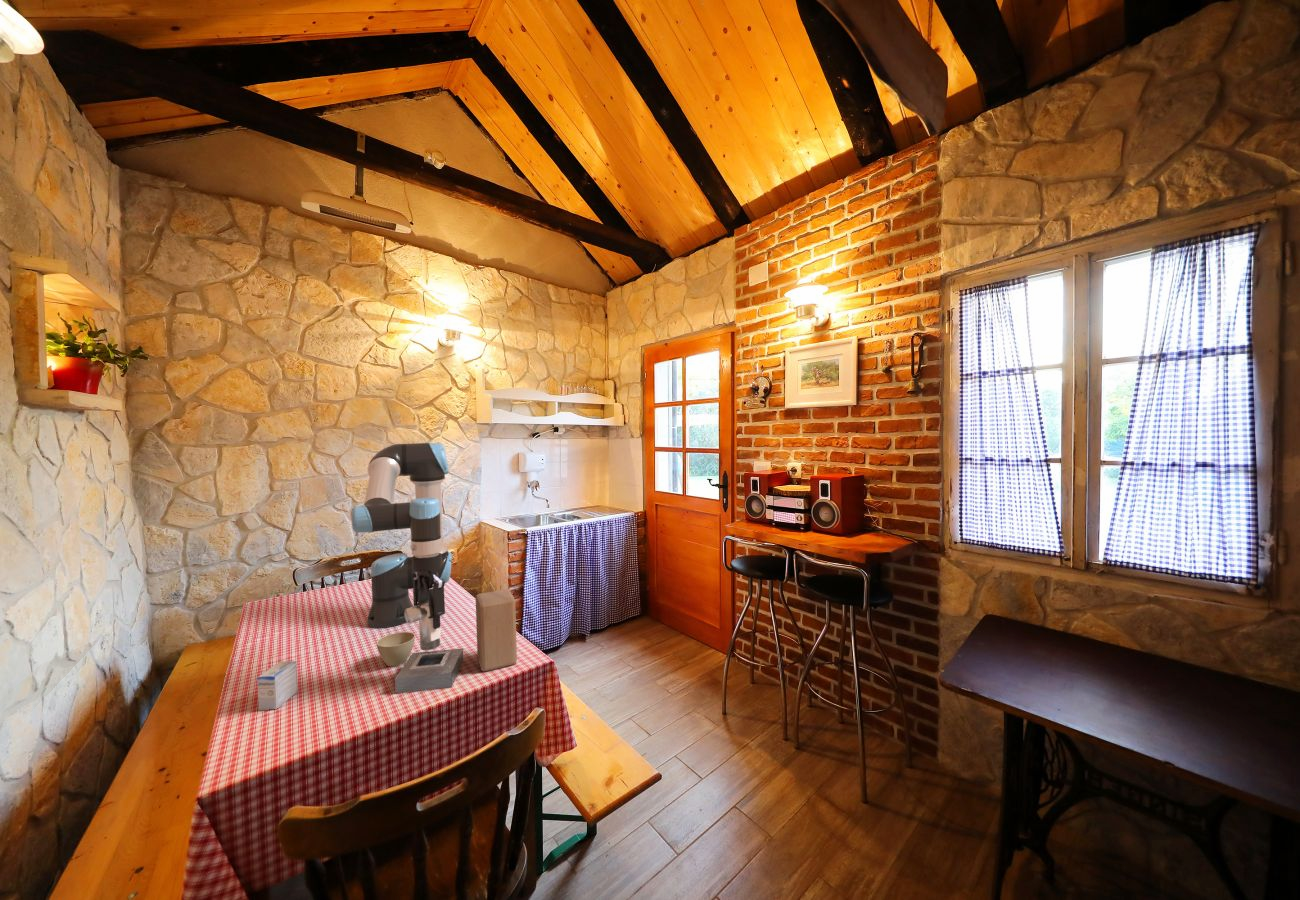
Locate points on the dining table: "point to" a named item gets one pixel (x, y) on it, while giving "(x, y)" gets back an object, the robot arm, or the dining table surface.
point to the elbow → (422, 624)
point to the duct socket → (429, 670)
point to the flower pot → (396, 647)
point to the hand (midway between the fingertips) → (430, 636)
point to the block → (496, 629)
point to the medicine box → (277, 685)
